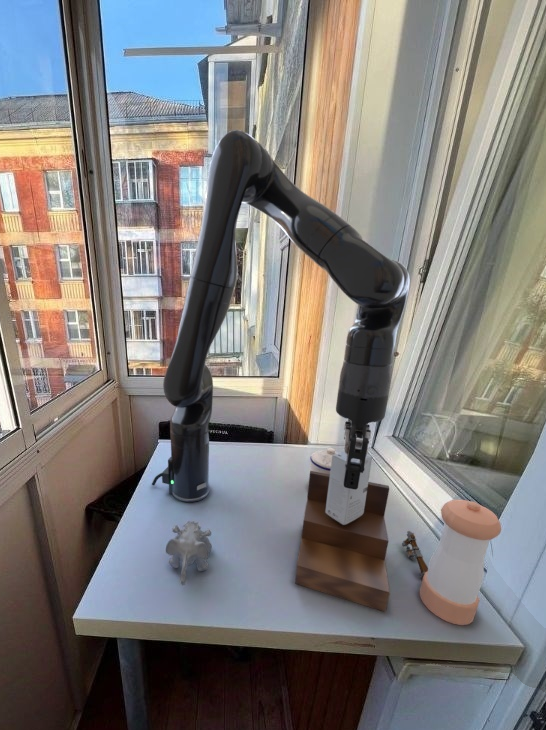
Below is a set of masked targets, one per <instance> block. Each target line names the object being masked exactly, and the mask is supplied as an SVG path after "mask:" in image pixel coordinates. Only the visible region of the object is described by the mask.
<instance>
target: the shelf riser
mask: <svg viewBox="0 0 546 730" xmlns="http://www.w3.org/2000/svg"><path fill="white" fill-rule="evenodd" d="M309 475H310V477H308V484H309V486H308V487H307V495H306V496H307V497H306V503H305V509H304V515H303V520H302V530H301V539H300V545H299V550H298V557H297V562H296V570H295V579H294V580H295V581H294V584H296V585H299V586H302V587H306V588H308V589H311V590H315V591H318V592H321V593H324V594H327V595H331V596H334V597H337V598H341V599H343V600H347V601H349V602H353V603H356V604H359V605H363V606H365V607H369V608H372V609H375V610H378V611H382V612H387V607H388V604H389V603H388V602H389V597H390V594H391V593H390V584H389V578H388V572H387V566H386V556H387V551H388V545H389V535H388V531H387V530H388V529H387V525H386V519H385V514H386V508H387V503H388V497H389V493H390V486H389V485H388V484H387V485H386V484H382V483H377V482H372V481H368V488H367V494H366V501H365V507H364V513H363V515H362V516H360V517H358V518H357V519H355V520H353V521H352V522H350V523H348V524H346V525H343V524H341V523H339V522H338V521H336V520H335V519H333V518H332V517H330V516H329V515H328V514H326V513H325V510H326V502H327V494H328V486H329V478H330V474H325V473H320V472H315V471H310V470H309Z"/></svg>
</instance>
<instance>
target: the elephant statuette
mask: <svg viewBox="0 0 546 730" xmlns="http://www.w3.org/2000/svg"><path fill="white" fill-rule="evenodd" d="M171 530H172V532H173V533H174V534H176V533H177V535H176V536H175V537H174V538H172V539H170V540H169V541H168V542H167V544H166V545H165V553H166V554H167V555H169V556H172V557H170V559H169V560H168V564H169V565H170V566H171V567H172V568H174V569H179V568H180V564H181V571H180V572H181V573H180V581H179V582H180V585H181V586H184V585H185V584H186V581H187V567H188V566H191V565H192V564H194V562H195V564H196V570H197V571H198V572H203V571H206V570H208V569H209V563H208V562H207V559H208V558H209V553H210V552H211V551H212V549H213V544H212V543H211V541H210V539H209V537H211V535H212V531H211V529H210V528H206V530H205V531H203V530H202V527H201V526H200V524H199V522H196V521H195V520H193V521H187V522H186V524H183V528H182V529H180V528H179V526H178V524H175V525H174V526H173V527H172V529H171Z"/></svg>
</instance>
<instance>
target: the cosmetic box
mask: <svg viewBox="0 0 546 730" xmlns="http://www.w3.org/2000/svg"><path fill="white" fill-rule="evenodd" d="M346 458H347V455H346V454H345V453H344V449H343V450H340V451H339V452H338V453H337V454H334V455H333V456H332V462H331V470H330V478H329V486H328V494H327V502H326V510H325V513H326V514H328V515H329V516H330V517H332V518H333V519H335V520H336V521H338V522H339V523H341V524H343V525H346V524H348V523H350V522H352V521H353V520H355V519H357V518H358V517H360V516H362V515H363V513H364V507H365V501H366V494H367V488H368V482H370V474H371V467H372V459H373V455H372V454H369V453H367V455H366V458H365V464H364V471H363V473H360V478H359V484H358V488H357V489H350V488H345V487H344V477H345V470H346V468H345V463H346ZM351 462H356V463H359V459H354V458H352V459H351Z"/></svg>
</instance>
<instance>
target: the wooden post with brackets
mask: <svg viewBox="0 0 546 730" xmlns="http://www.w3.org/2000/svg"><path fill="white" fill-rule="evenodd" d="M406 532H407V534H406V537H407V538H406V539H405V540H403V541H402V543H401V545H402V547H405V549H406V550H405V553H406V555H407V558H409V559H410V560H412V561H413V560H415V559H416V561H417V563H418V567H419V571H420V574H419V578H420V579H423V576H424V574H425V572H427V571H428V567H429V566H428V565H427V564H426V562H425V560H424V559H423V557H424V556H423V554H422V552H421V548H420V546H418V543H417V539H416V536H415V533H414V532H412V531H411V530H407V531H406ZM409 545H410V546H411V547H410V546H409Z"/></svg>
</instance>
